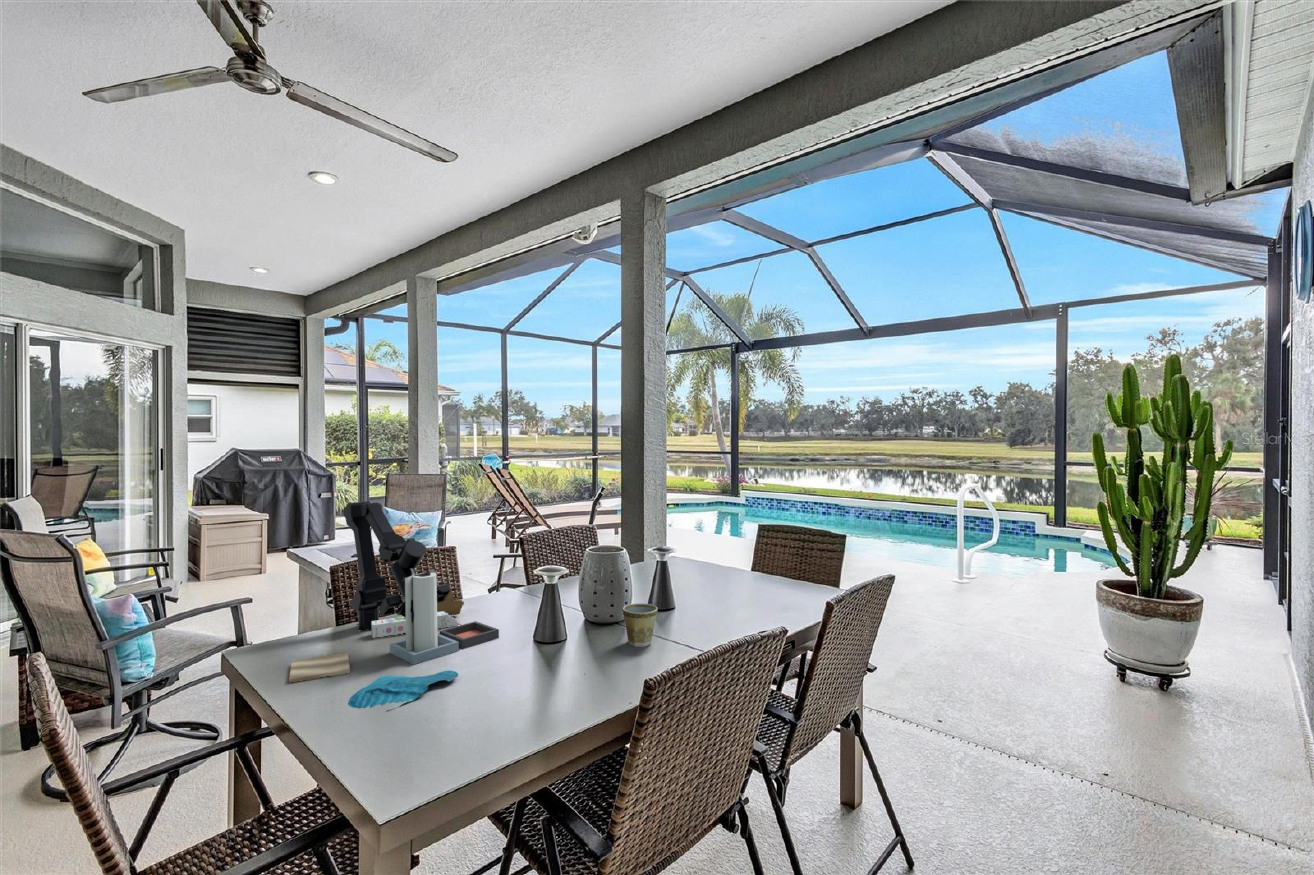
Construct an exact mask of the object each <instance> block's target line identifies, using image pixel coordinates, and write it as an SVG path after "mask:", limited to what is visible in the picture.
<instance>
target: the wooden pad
mask: <svg viewBox="0 0 1314 875" xmlns="http://www.w3.org/2000/svg"><path fill="white" fill-rule="evenodd" d="M289 671H290V672H289V678H288V683H289V684H292V683H291V682H295V683H298V682H297V681H300V682H302V681H301V680H306V681H311V680H318V679H321V678H320V677H324V678H327V677H326V676H330V677H336V676H340V675H347V674H350V673H351V668H350V660H349V653H348V652H344V653H337V654H331V655H324V656H317V657H312V658H311V657H310V658H305V659H299V660H293V661H291V663H290V670H289ZM346 673H347V674H346ZM317 678H318V679H317Z"/></svg>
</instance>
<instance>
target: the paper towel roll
mask: <svg viewBox="0 0 1314 875" xmlns="http://www.w3.org/2000/svg"><path fill="white" fill-rule="evenodd" d="M422 573H423V572H420V573H417V574H422ZM417 574H415V575H417ZM427 574H428V575H425V576H420V575H418V576H414V575H412V576H410V577H407V578H405V605H406V634H405V640H406V649H408V650H410V651H412V652H414V653H418V652H421V651H424V650H428V649H431V648H435V647H438V646H439V645H438V637H437V633H438V629H437V586H438V584H437V582H438V581H437V580H438V577H437V578H436V574H437V572H436V573H427ZM411 600H413V610H414V623H413V622H412V613H411V611H410V609H411Z"/></svg>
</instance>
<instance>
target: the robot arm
mask: <svg viewBox="0 0 1314 875" xmlns="http://www.w3.org/2000/svg"><path fill="white" fill-rule="evenodd" d="M342 511H343V512H342V514H343V517H344V518H345V523H346V525H347V526H348V528H350V529H351V531H352V532H353V537H354V544H355V550H356V557H357V564H358V571H359V578H358V581H357V583H356V585H355V594H354V596H353V597H352V599H351V601H350V607H351V610H353V611H356V612H357V613H358V617H357V618H358V620H357V621H358V623H356V630H362V631H367V630H366V629H369V630H372V628H371V621H377V620H380V615H381V617H386V616H389V615H392V614H393V613H394V611H395V608H397V612H396V615H397V616H400V615H401V617H405V618H406V605H405V578H407V577H410V576H412V575H414V576H418V575H420V576H425V575H428V574H427V573H436V578H437V579H438V575H437V572H436V570H435V569H434V568H433V569H428V570H427V571H425V572H421V573H422V574H419V573H417V571H416V568H418V566H419V565H420V563H421V561H422V559H423V558H424V556H425V555H426V553H427V547H426V545H424V544H423V543H422V542H420V541H418V540H416V539H415V537H413V538H411V537H410V538H407V539H405V538H404V536H402V535H399V534H397V532H396V531H395V530H394V528H393V527H392V525H391V523H390V521H389V519H388V518H387V516H386V514H385V512H384V511H383V507H382V504H381V503H380V502H370V501H369V500H365V501H355V502H354V501H353V502H348V503H347V504H346V506H344V507H343V510H342ZM371 530H372V531H373V534H374V535H375V537H376V538H377V541H378V543H379V547H378V553H379V557H380V559H381V560H382V562H383V563H386V564H387V563H393V564H392V565H391V567H390V570H389V573H388V574H389V576H393V577H394V580H395V582H396V584H397V587H396V591H397V592H398V593H395V594H391V595H388V592H389V591H388V588H387V585H386V584H387V583H386V579H385V577H384V576H381V575H379V573H378V568H377V562H376V557H375V550H374V544H373V538H372V531H371ZM415 574H417V575H415ZM451 590H452V589H451V587H450V585H449V584H447V583H442V584H440V585H438V584H437V603H441V602H443V601H445V599H446V598H447V596H448V595H449V593H450V592H451ZM399 592H400V593H399ZM401 595H402V596H401ZM410 611H411V613H412V622H413V623H414V610H413V600H411V609H410ZM357 625H358V626H357Z"/></svg>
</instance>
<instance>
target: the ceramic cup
mask: <svg viewBox="0 0 1314 875" xmlns="http://www.w3.org/2000/svg"><path fill="white" fill-rule="evenodd" d="M622 613H623V614H622V615H623V620H624V623H625V624H624V625H625V630H626V635H627V641H628V644H629V645H630V646H631V647H638V648H639V647H640V648H645V647H647V646H650V645H651V644H652V640H653V634H654V627H655V623H656V621H657V615H658V607H657V606H656V605H654V604H652V603H645V602H644V603H642V602H638V603H631V604H630V603H629V604H626V605H625V606H623V607H622Z"/></svg>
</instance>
